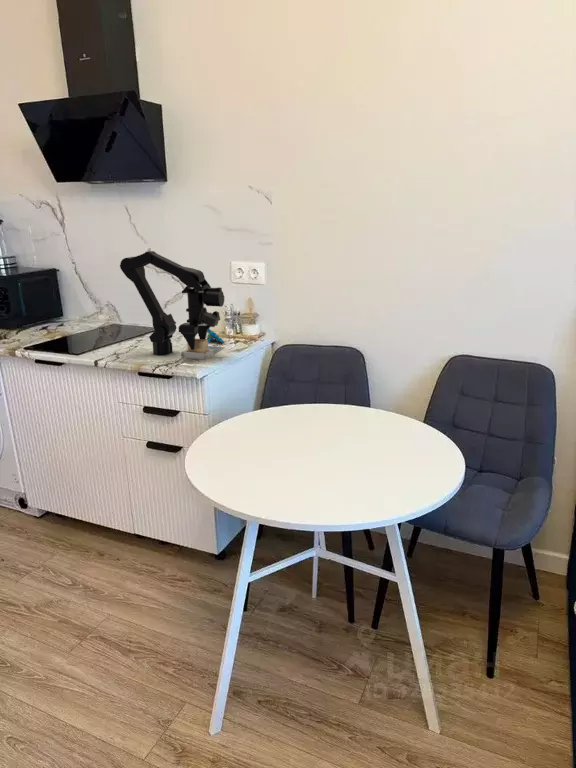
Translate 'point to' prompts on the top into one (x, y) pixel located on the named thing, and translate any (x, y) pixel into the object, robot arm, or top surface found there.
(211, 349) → the gray plate
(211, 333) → the gear
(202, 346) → the cardboard box
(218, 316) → the robot arm
